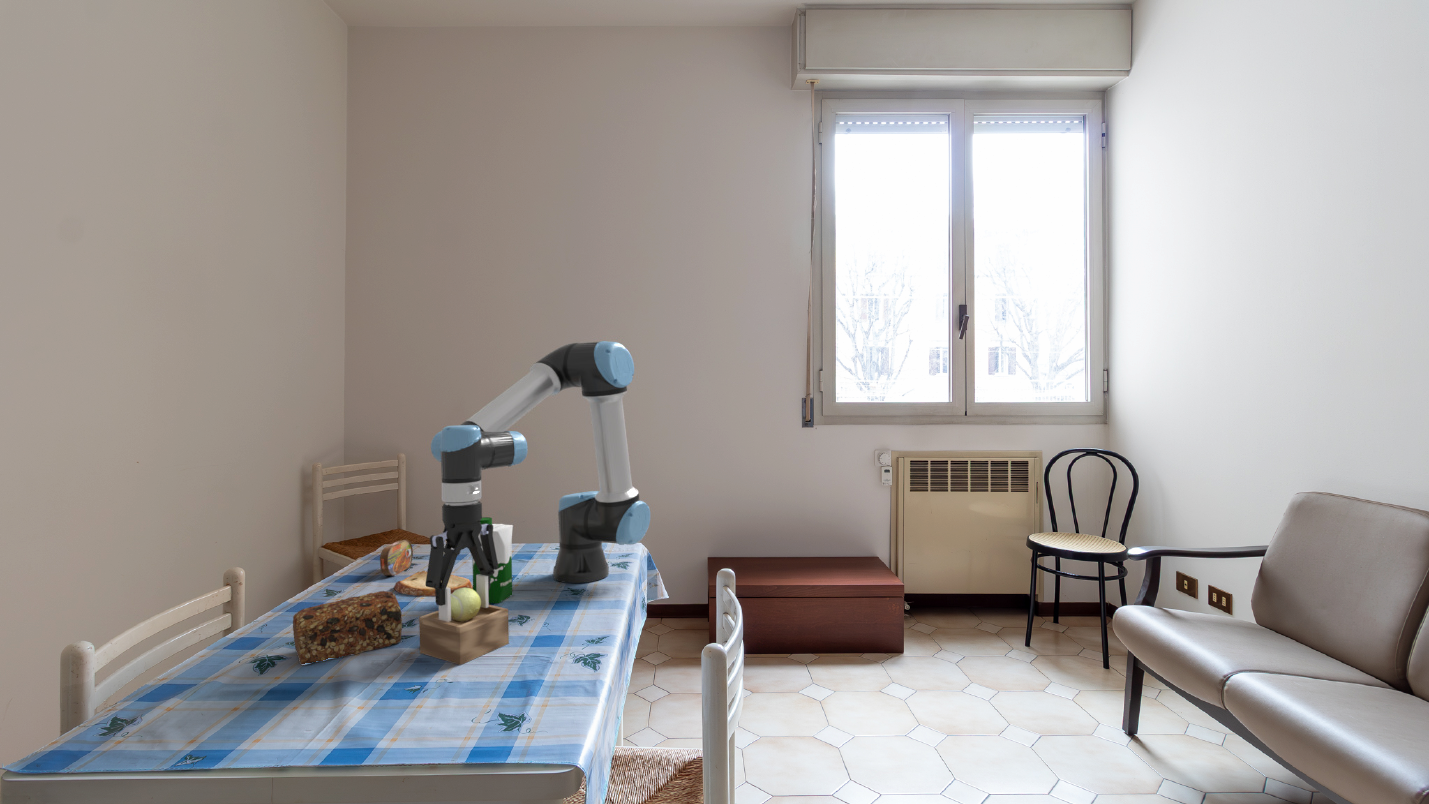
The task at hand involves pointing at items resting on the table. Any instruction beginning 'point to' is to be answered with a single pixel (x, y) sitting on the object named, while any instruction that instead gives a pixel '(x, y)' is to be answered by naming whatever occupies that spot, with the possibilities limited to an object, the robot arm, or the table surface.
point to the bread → (347, 627)
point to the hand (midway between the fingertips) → (464, 613)
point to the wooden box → (464, 635)
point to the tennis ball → (464, 604)
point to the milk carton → (499, 563)
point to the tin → (396, 558)
